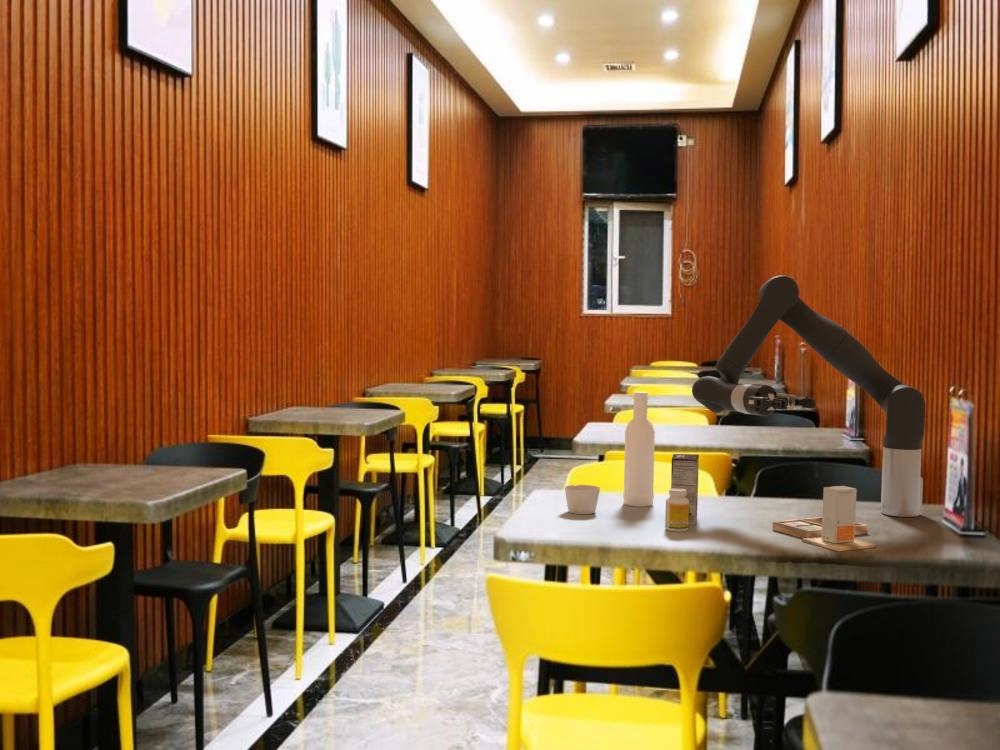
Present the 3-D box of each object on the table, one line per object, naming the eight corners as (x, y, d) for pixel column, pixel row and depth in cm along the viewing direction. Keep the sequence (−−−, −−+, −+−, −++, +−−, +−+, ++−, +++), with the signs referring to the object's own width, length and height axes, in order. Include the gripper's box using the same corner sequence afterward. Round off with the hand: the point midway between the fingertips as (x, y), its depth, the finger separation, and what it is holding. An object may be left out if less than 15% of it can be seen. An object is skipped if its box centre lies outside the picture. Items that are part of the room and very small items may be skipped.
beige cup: (606, 513, 262) (607, 488, 261) (578, 516, 257) (579, 491, 256) (584, 507, 269) (585, 483, 269) (557, 510, 264) (557, 486, 264)
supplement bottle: (660, 528, 243) (661, 488, 243) (679, 526, 245) (680, 486, 245) (674, 532, 238) (675, 491, 238) (693, 531, 241) (694, 490, 240)
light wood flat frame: (829, 524, 251) (829, 516, 251) (867, 533, 241) (867, 525, 240) (772, 529, 243) (772, 521, 243) (808, 539, 233) (809, 531, 232)
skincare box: (834, 544, 225) (836, 489, 225) (820, 540, 229) (822, 486, 229) (855, 542, 228) (857, 488, 227) (841, 538, 232) (843, 485, 231)
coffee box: (671, 517, 258) (672, 453, 257) (697, 518, 256) (698, 454, 256) (669, 524, 249) (671, 457, 248) (696, 525, 247) (698, 458, 247)
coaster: (838, 537, 236) (838, 534, 236) (875, 547, 226) (875, 544, 226) (801, 541, 231) (802, 538, 231) (838, 551, 221) (838, 548, 221)
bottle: (657, 503, 277) (659, 391, 276) (648, 507, 270) (650, 393, 268) (628, 500, 281) (631, 390, 279) (619, 505, 273) (621, 392, 272)
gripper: (731, 384, 250) (777, 388, 235) (776, 383, 256) (824, 387, 242) (730, 415, 250) (776, 421, 236) (775, 413, 256) (823, 419, 242)
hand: (800, 404), depth 239 cm, fingers open, 8 cm apart
